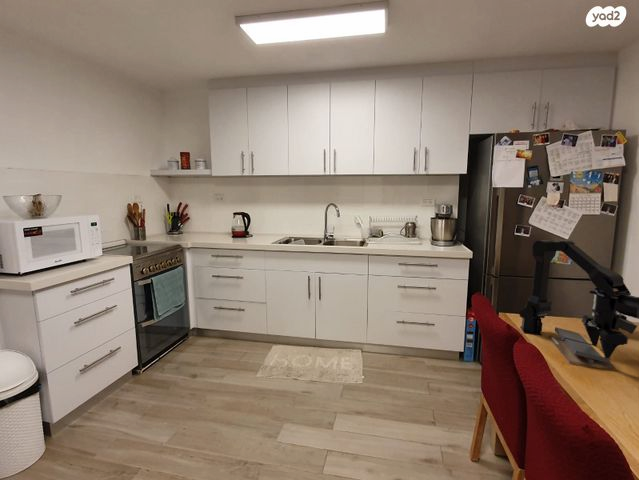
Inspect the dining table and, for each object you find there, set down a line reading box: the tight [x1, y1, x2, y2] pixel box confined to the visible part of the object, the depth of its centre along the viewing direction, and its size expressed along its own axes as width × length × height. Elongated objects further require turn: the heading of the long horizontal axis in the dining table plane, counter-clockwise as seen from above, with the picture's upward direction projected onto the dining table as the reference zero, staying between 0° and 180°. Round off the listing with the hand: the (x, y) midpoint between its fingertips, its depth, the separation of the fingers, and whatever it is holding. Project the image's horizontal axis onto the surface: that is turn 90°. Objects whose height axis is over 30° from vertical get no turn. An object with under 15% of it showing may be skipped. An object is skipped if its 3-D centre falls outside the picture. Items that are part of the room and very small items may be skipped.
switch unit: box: [548, 334, 616, 371], centre depth 125 cm, size 13×22×2 cm, turn 161°
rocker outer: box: [564, 339, 611, 363], centre depth 119 cm, size 10×10×2 cm
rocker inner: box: [554, 326, 592, 345], centre depth 129 cm, size 10×10×2 cm
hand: (600, 351), depth 118 cm, fingers open, 9 cm apart
